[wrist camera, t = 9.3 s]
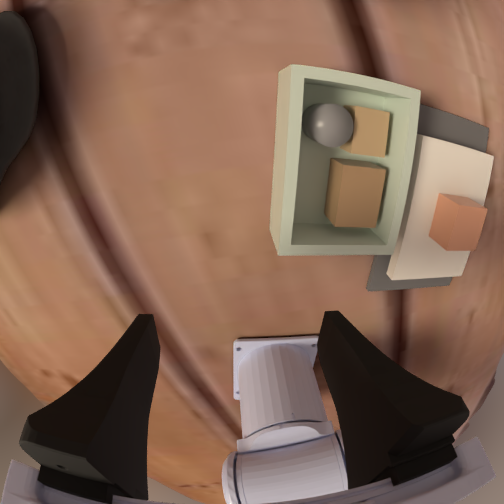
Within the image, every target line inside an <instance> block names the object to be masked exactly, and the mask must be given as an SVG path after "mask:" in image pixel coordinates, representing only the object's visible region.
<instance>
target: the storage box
mask: <svg viewBox="0 0 504 504" xmlns="http://www.w3.org/2000/svg"><path fill="white" fill-rule="evenodd" d="M420 95H421V91H420V90H417V89H414V88H411V87H407V86H404V85H400V84H396V83H393V82H389V81H385V80H381V79H377V78H373V77H368V76H364V75H359V74H354V73H349V72H344V71H338V70H332V69H326V68H319V67H312V66H305V65H296V64H291V65H289V66H287V67H286V68H284V69H282V70H281V71H279V73H278V94H277V113H276V131H275V149H274V165H273V182H272V197H271V212H270V227H269V229H270V232H271V235H272V238H273V241H274V244H275V247H276V250H277V253H278V256H279V255H393V253H394V249H395V246H396V242H397V238H398V234H399V229H400V225H401V221H402V216H403V212H404V207H405V202H406V197H407V192H408V187H409V182H410V176H411V170H412V164H413V158H414V151H415V144H416V136H417V127H418V118H419V107H420Z"/></svg>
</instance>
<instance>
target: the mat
mask: <svg viewBox="0 0 504 504" xmlns="http://www.w3.org/2000/svg"><path fill="white" fill-rule="evenodd" d="M488 132H489V128H487V127H484V126H482V125H480V124H477V123H475V122H472V121H469V120H467V119H464V118H461V117H459V116H456V115H453V114H450V113H447V112H444V111H441V110H438V109H435V108H432V107H429V106H425V105H422V104H420V107H419V118H418V127H417V134H420V135H424V136H428V137H432V138H436V139H440V140H444V141H447V142H451V143H454V144H458V145H461V146H465V147H468V148H471V149H474V150H477V151H480V152H483V153H486V147H487V140H488ZM390 259H391V255H375V256H374V260H373V264H372V268H371V272H370V276H369V279H368V283H367V287H366V289H367V290H368V291H383V290H398V289H411V288H424V287H436V286H447V285H450V282H451V280H452V277H439V278H424V279H406V280H391V279H390V278H389V276H388V275H387V274H386V273H387V270H388V266H389V263H390Z"/></svg>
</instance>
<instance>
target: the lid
mask: <svg viewBox="0 0 504 504" xmlns="http://www.w3.org/2000/svg"><path fill="white" fill-rule="evenodd" d="M493 159H494V156H492V155H489V154H486V153H483V152H480V151H477V150H474V149H471V148H468V147H465V146H461V145H458V144H454V143H451V142H447V141H444V140H440V139H436V138H432V137H428V136H424V135H420V134H417V136H416V144H415V151H414V158H413V164H412V170H411V176H410V182H409V187H408V192H407V197H406V202H405V207H404V212H403V216H402V221H401V225H400V229H399V234H398V238H397V242H396V246H395V249H394V253H393V255H391V259H390V263H389V266H388V270H387V273H386V274H387V275H388V276H389V278H390V279H391V280H406V279H424V278H439V277H454V276H462V273H463V270H464V268H465V265H466V262H467V259H468V257H469V254H470V251H475V250H476V247H477V244H478V241H479V238H480V235H481V231H482V228H483V224H484V221H485V217H486V214H487V210H488V209H487V208H485V207H484V203H485V199H486V194H487V190H488V185H489V181H490V176H491V171H492V165H493Z"/></svg>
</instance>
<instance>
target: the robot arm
mask: <svg viewBox="0 0 504 504" xmlns="http://www.w3.org/2000/svg"><path fill="white" fill-rule="evenodd" d="M312 344H313V345H312ZM238 347H240V348H238ZM317 351H318V354H319V359H320V363H321V367H322V370H323V373H324V376H325V378H326V381H327V384H328V387H329V390H330V393H331V395H332V398H333V401H334V404H335V407H336V411H337V415H338V419H339V424H340V430H336V431H335V432H334V429H333V425H332V422H331V421H328V419H327V415H326V412H325V408H324V405H323V401H322V398H321V394H320V391H319V388H318V384H317V381H316V377H315V374H314V371H313V365H314V362H315V358H316V354H317ZM159 359H160V344H159V340H158V335H157V331H156V326H155V322H154V317H153V314H139V315H138V316H137V317H136V318H135V320H134V321H133V322H132V324H131V325H130V326H129V328H128V329H127V330H126V332H125V333H124V334H123V336H122V337H121V338H120V339H119V341H118V342H117V343H116V344H115V346H114V347H113V348H112V349H111V351H110V352H109V353H108V354H107V355H106V356H105V357H104V359H103V360H102V361H101V362H100V363H99V364H98V365H97V366H96V367H95V368H94V369H93V370H92V371H91V372H90V373H89V374H88V375H87V376H86V377H85V378H84V379H83V380H82V381H80V382H79V383H78V384H77V385H76V386H74V387H73V388H72V389H71V390H69V391H68V392H67V393H66V394H64V395H63V396H61V397H60V398H58V399H57V400H55V401H54V402H52V403H51V404H49V405H47V406H46V407H44V408H42V409H40V410H38V411H37V412H35V413H33V414H31V415H29V416H28V418H27V420H26V423H25V425H24V428H23V431H22V435H21V438H20V441H19V444H20V446H21V448H22V449H23V450H24V451H25V452H26V453H27V454H28V455H30V456H31V457H32V458H33V459H34V460H36V461H37V462H38V463H39V464H40V465H41V467H40V471H39V470H37V469H35V468H33V467H31V466H28V465H26V464H24V463H21V462H19V461H16V460H14V459H12V460H11V463H10V467H9V470H8V474H7V478H6V482H5V486H4V491H3V495H2V500H1V504H174V503H163V502H154V501H147V500H148V486H147V436H148V421H149V413H150V408H151V403H152V398H153V393H154V388H155V384H156V379H157V374H158V369H159ZM234 399H236V400H240V408H241V422H242V435H243V439H240V440H237V450H238V451H235V452H231V453H230V454H229V455H228V457H227V459H226V460H225V461H224V464H223V468H222V486H223V492H224V497H225V500H226V503H227V504H455V503H457V502H458V501H460V500H462V499H463V498H465V497H467V496H468V495H470V494H472V493H473V492H475V491H476V490H478V489H479V488H481V487H483V486H484V485H485V484H487V483H488V482H490V481H491V480H493V479H494V478H495V477H496V475H495V472H494V470H493V468H492V466H491V464H490V461H489V459H488V457H487V455H486V453H485V451H484V449H483V447H482V445H481V443H480V440H479V438H478V437H477V436H476V437H473V438H472V439H470V440H468V441H466V442H464V443H462V444H460V445H458V446H457V447H455V448H453V445H452V443H453V442H454V441H455V439H454V437H453V435H452V434H453V433H454V432H455V431H456V430H457V429H458V428H459V427H460V426H461V425H462V424H463V423H464V422H465V421H466V420H467V418H468V417H469V410H468V408H467V406H466V404H465V403H464V401H463V399H462V398H461V396H458V395H455V394H453V393H450V392H447V391H444V390H442V389H440V388H438V387H435V386H433V385H431V384H429V383H427V382H425V381H423V380H421V379H420V378H418V377H416V376H415V375H413V374H411V373H410V372H408V371H406V370H405V369H403V368H402V367H401V366H399V365H398V364H396V363H395V362H394V361H392V360H391V359H390V358H388V357H387V356H386V355H385V354H383V353H382V352H381V351H380V350H379V349H377V348H376V347H375V346H374V345H373V344H372V343H371V342H370V341H369V340H367V339H366V338H365V337H364V336H363V335H362V334H361V333H360V332H359V331H358V330H357V329H356V328H355V327H354V326H353V325H352V324H351V323H350V322H349V321H348V320H347V319H346V318H345V317H344V316H343V315H342V314H341V313H340V312H339V311H325V313H324V318H323V322H322V326H321V330H320V334H319V336H300V337H282V338H258V339H237V340H235V341H234Z"/></svg>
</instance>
